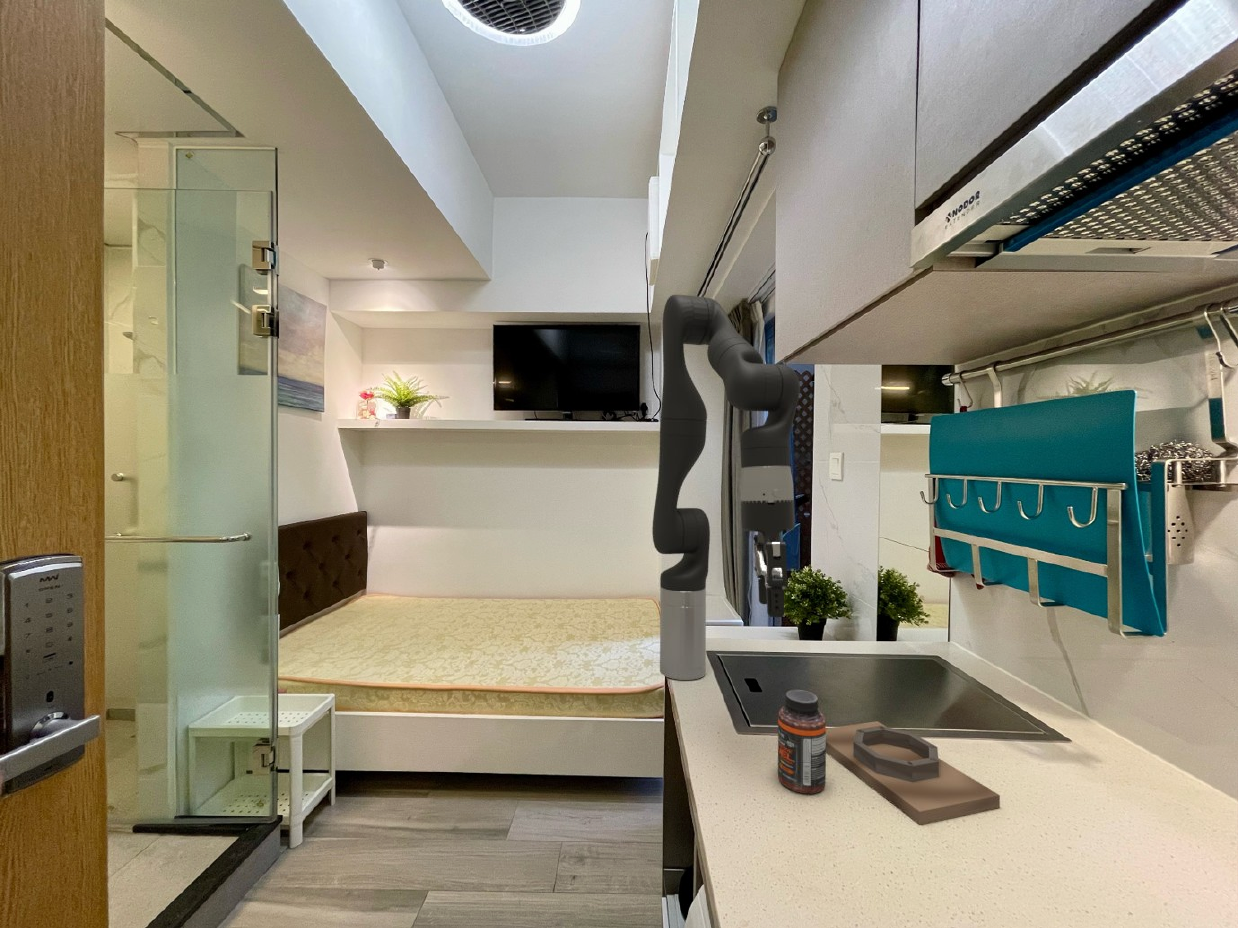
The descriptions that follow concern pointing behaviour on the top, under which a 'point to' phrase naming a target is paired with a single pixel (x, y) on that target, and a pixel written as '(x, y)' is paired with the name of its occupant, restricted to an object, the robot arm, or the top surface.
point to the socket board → (918, 793)
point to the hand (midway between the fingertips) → (771, 609)
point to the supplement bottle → (802, 743)
